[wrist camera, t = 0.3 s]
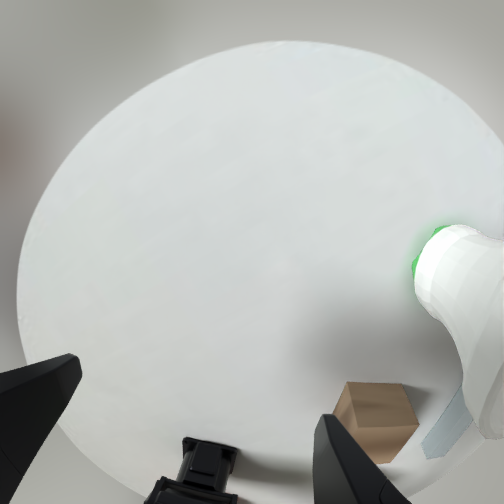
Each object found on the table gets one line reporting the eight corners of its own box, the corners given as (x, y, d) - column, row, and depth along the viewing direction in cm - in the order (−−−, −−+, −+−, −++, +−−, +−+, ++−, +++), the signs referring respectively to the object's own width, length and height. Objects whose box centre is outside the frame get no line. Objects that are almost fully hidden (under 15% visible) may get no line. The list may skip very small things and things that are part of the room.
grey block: (437, 441, 25) (443, 456, 22) (420, 443, 25) (426, 459, 23) (498, 344, 21) (511, 357, 18) (483, 344, 21) (496, 358, 18)
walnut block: (378, 422, 25) (389, 462, 19) (328, 421, 25) (333, 465, 19) (400, 383, 23) (419, 424, 17) (346, 381, 23) (357, 427, 18)
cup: (505, 252, 19) (609, 311, 5) (439, 345, 22) (510, 450, 8) (440, 170, 18) (586, 185, 4) (361, 284, 21) (441, 419, 7)
